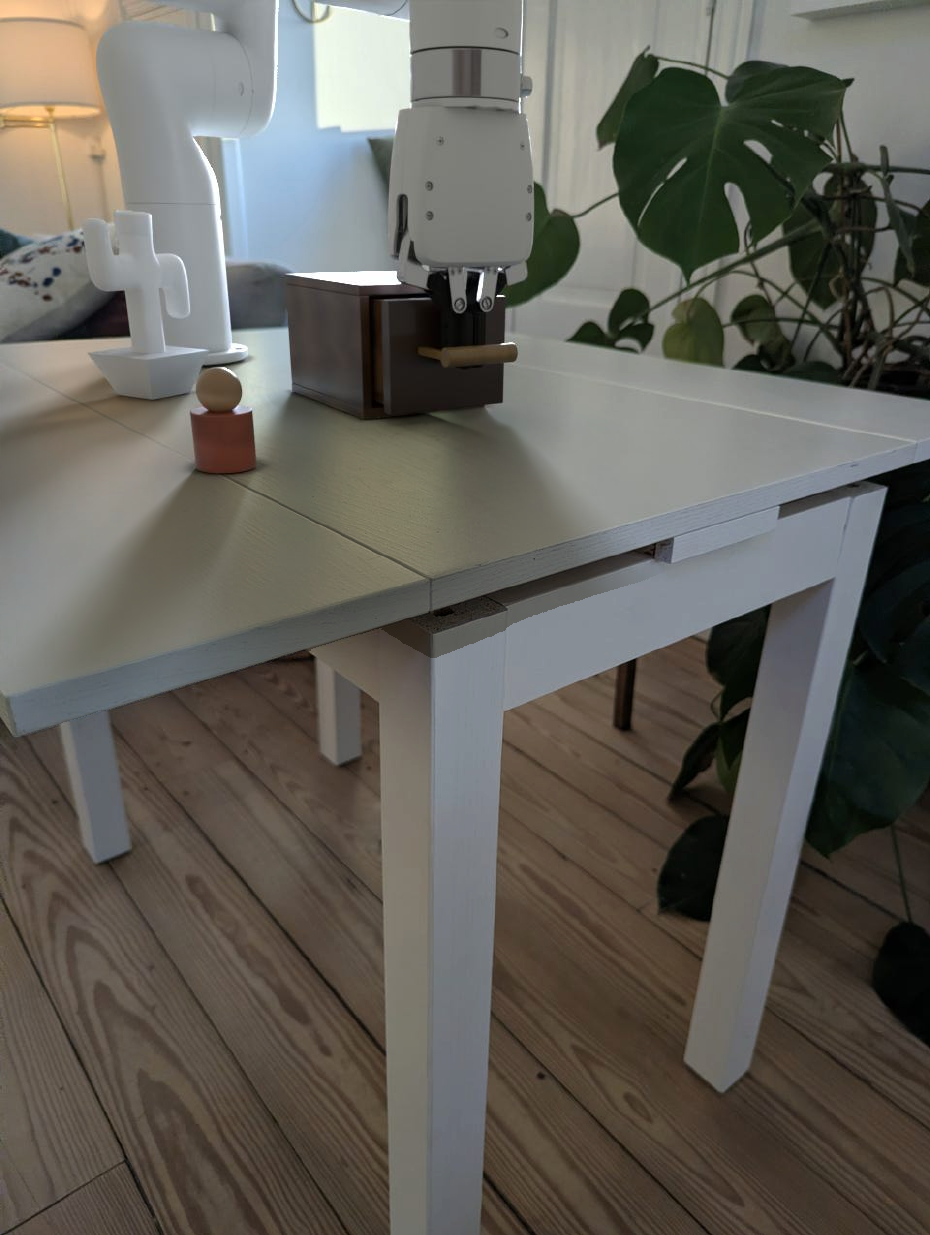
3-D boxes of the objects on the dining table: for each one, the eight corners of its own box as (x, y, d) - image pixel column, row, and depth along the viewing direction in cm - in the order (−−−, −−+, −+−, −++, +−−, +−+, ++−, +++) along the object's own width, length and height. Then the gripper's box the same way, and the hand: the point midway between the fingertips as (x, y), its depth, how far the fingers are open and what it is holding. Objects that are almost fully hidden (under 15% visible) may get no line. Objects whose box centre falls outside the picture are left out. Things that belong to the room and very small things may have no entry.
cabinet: (485, 406, 78) (487, 281, 74) (363, 419, 72) (359, 284, 68) (402, 381, 89) (401, 271, 85) (292, 391, 83) (284, 273, 79)
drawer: (539, 413, 71) (544, 301, 67) (423, 427, 66) (422, 306, 62) (420, 379, 85) (420, 284, 81) (318, 388, 80) (313, 288, 76)
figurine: (221, 389, 83) (205, 211, 77) (141, 406, 76) (116, 209, 70) (165, 382, 87) (145, 210, 81) (83, 397, 79) (54, 209, 73)
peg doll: (188, 463, 59) (177, 365, 56) (244, 456, 61) (236, 361, 58) (206, 476, 56) (196, 374, 53) (265, 469, 58) (257, 369, 55)
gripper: (522, 102, 68) (514, 354, 76) (341, 86, 61) (352, 367, 68) (586, 92, 62) (570, 365, 70) (394, 72, 55) (400, 381, 62)
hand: (462, 365), depth 69 cm, fingers closed
